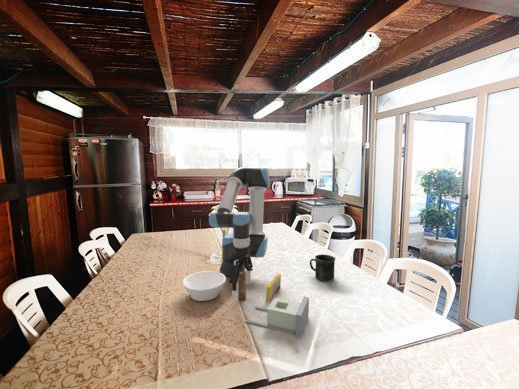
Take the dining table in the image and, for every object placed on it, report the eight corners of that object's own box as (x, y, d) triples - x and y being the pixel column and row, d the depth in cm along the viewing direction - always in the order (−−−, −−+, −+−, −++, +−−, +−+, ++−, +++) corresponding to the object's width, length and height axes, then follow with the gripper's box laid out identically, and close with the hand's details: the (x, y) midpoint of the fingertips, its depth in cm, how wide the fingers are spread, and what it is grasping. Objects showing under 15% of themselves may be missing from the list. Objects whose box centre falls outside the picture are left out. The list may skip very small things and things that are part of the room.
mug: (331, 284, 140) (332, 262, 138) (306, 278, 147) (306, 257, 146) (337, 276, 149) (337, 256, 147) (312, 271, 156) (313, 252, 155)
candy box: (269, 304, 119) (269, 287, 119) (265, 303, 120) (265, 286, 119) (280, 289, 134) (281, 273, 133) (277, 288, 135) (277, 273, 134)
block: (267, 325, 101) (267, 308, 101) (274, 313, 110) (274, 297, 109) (297, 332, 97) (297, 315, 96) (302, 319, 105) (302, 303, 104)
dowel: (237, 302, 121) (236, 274, 119) (240, 299, 124) (240, 271, 122) (243, 304, 119) (243, 275, 118) (247, 300, 123) (246, 272, 121)
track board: (241, 326, 103) (241, 302, 102) (255, 308, 116) (255, 287, 115) (300, 341, 94) (301, 315, 93) (308, 320, 107) (308, 297, 106)
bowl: (233, 288, 135) (233, 273, 134) (213, 310, 115) (212, 292, 114) (198, 282, 141) (197, 268, 140) (174, 302, 122) (173, 285, 121)
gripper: (236, 255, 106) (237, 304, 108) (259, 239, 129) (259, 280, 131) (220, 253, 108) (221, 301, 111) (245, 238, 131) (245, 277, 134)
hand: (241, 289), depth 121 cm, fingers open, 13 cm apart
